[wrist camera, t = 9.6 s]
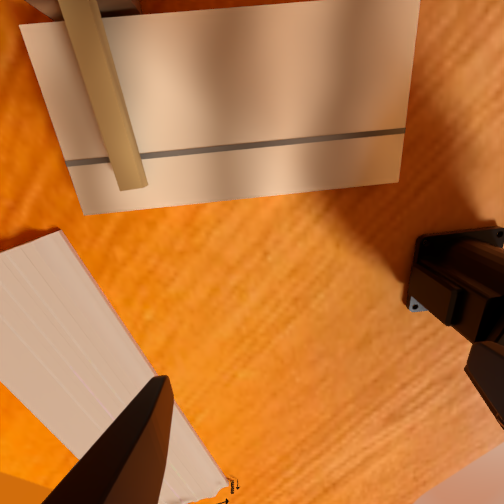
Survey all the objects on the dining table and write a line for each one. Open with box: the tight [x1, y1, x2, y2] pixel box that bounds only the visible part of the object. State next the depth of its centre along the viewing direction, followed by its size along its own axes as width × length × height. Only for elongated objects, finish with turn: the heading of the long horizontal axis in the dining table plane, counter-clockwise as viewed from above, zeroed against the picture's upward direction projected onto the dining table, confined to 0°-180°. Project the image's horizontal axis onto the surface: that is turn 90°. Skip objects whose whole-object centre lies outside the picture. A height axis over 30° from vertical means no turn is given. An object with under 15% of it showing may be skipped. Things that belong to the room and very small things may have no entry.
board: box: [19, 0, 421, 215], centre depth 15 cm, size 19×9×2 cm, turn 95°
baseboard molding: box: [0, 230, 239, 504], centre depth 23 cm, size 31×3×12 cm
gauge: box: [25, 0, 148, 191], centre depth 12 cm, size 4×13×6 cm, turn 8°
